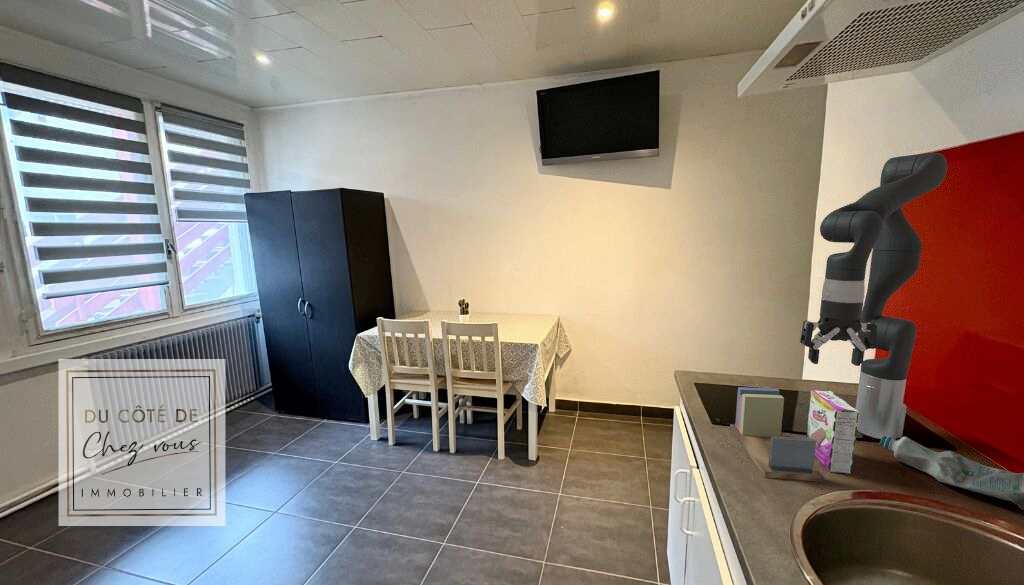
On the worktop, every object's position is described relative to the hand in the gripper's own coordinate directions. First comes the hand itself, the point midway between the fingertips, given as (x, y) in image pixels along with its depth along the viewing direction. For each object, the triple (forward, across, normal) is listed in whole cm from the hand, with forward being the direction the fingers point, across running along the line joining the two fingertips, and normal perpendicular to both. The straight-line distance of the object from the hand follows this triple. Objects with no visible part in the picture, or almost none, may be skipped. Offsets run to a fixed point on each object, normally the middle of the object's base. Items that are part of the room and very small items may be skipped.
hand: (834, 363), depth 93 cm
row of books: (+24, +12, -9) cm, 28 cm away
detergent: (+26, -24, +3) cm, 36 cm away
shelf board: (+26, +11, -1) cm, 28 cm away
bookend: (+24, +11, +9) cm, 28 cm away
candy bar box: (+26, -1, 0) cm, 26 cm away
